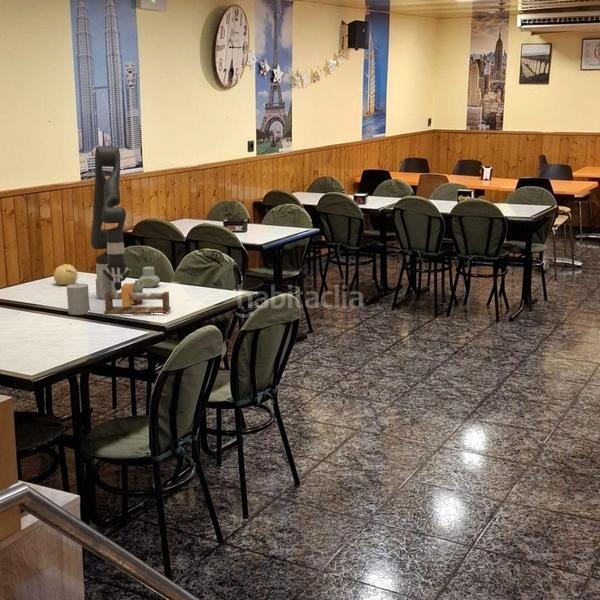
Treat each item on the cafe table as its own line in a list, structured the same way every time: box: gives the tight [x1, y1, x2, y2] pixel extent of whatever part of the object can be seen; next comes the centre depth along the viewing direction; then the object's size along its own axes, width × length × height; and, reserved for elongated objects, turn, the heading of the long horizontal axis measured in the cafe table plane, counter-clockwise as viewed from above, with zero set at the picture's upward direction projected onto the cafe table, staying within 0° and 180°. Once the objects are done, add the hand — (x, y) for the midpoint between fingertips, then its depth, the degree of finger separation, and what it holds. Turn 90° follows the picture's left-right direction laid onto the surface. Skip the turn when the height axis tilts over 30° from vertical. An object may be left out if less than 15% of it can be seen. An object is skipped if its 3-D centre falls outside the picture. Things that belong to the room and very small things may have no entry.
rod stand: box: [103, 291, 172, 314], centre depth 388 cm, size 28×10×9 cm, turn 87°
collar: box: [120, 283, 133, 307], centre depth 388 cm, size 3×8×9 cm, turn 177°
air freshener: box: [138, 266, 161, 289], centre depth 442 cm, size 11×8×10 cm
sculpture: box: [53, 263, 78, 286], centre depth 449 cm, size 11×12×11 cm
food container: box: [131, 279, 145, 306], centre depth 405 cm, size 12×6×10 cm, turn 168°
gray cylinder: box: [65, 283, 91, 316], centre depth 389 cm, size 10×10×12 cm
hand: (118, 290), depth 387 cm, fingers closed
